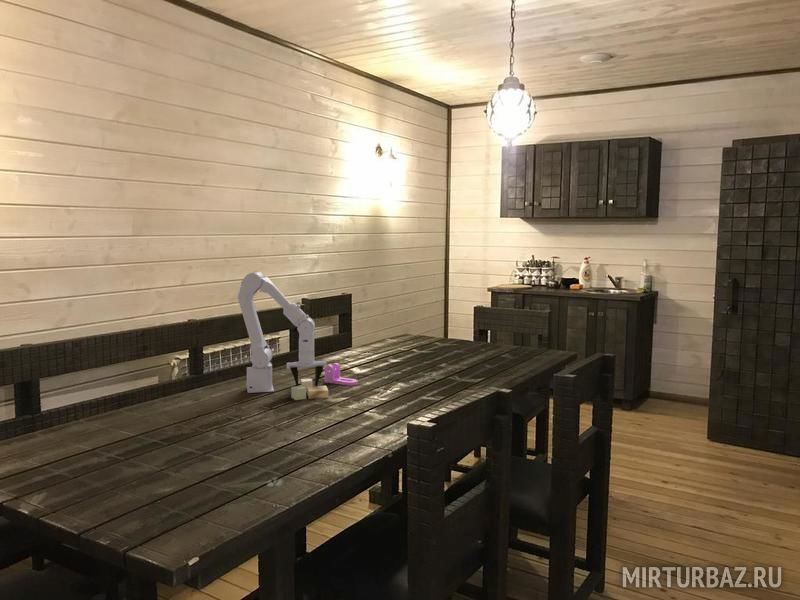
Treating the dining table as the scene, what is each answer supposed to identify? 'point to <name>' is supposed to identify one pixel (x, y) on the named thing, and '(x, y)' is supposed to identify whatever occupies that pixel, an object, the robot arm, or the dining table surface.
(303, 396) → the sage cube
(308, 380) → the cream cube
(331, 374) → the bracket
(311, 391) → the oak slab
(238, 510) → the dining table surface
